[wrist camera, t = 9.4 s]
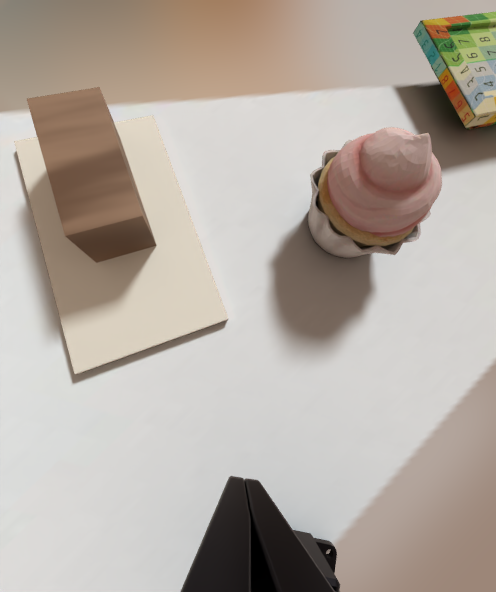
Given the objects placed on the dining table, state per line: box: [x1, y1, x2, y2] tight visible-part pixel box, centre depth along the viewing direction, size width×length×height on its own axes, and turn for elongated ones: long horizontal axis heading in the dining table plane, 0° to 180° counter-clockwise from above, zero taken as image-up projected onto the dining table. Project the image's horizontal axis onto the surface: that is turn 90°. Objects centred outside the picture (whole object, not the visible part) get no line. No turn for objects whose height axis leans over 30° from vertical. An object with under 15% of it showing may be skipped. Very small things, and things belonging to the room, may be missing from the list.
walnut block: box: [27, 87, 157, 263], centre depth 19 cm, size 4×4×10 cm
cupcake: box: [308, 128, 442, 258], centre depth 20 cm, size 9×9×10 cm
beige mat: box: [14, 115, 228, 374], centre depth 21 cm, size 19×11×1 cm, turn 22°
